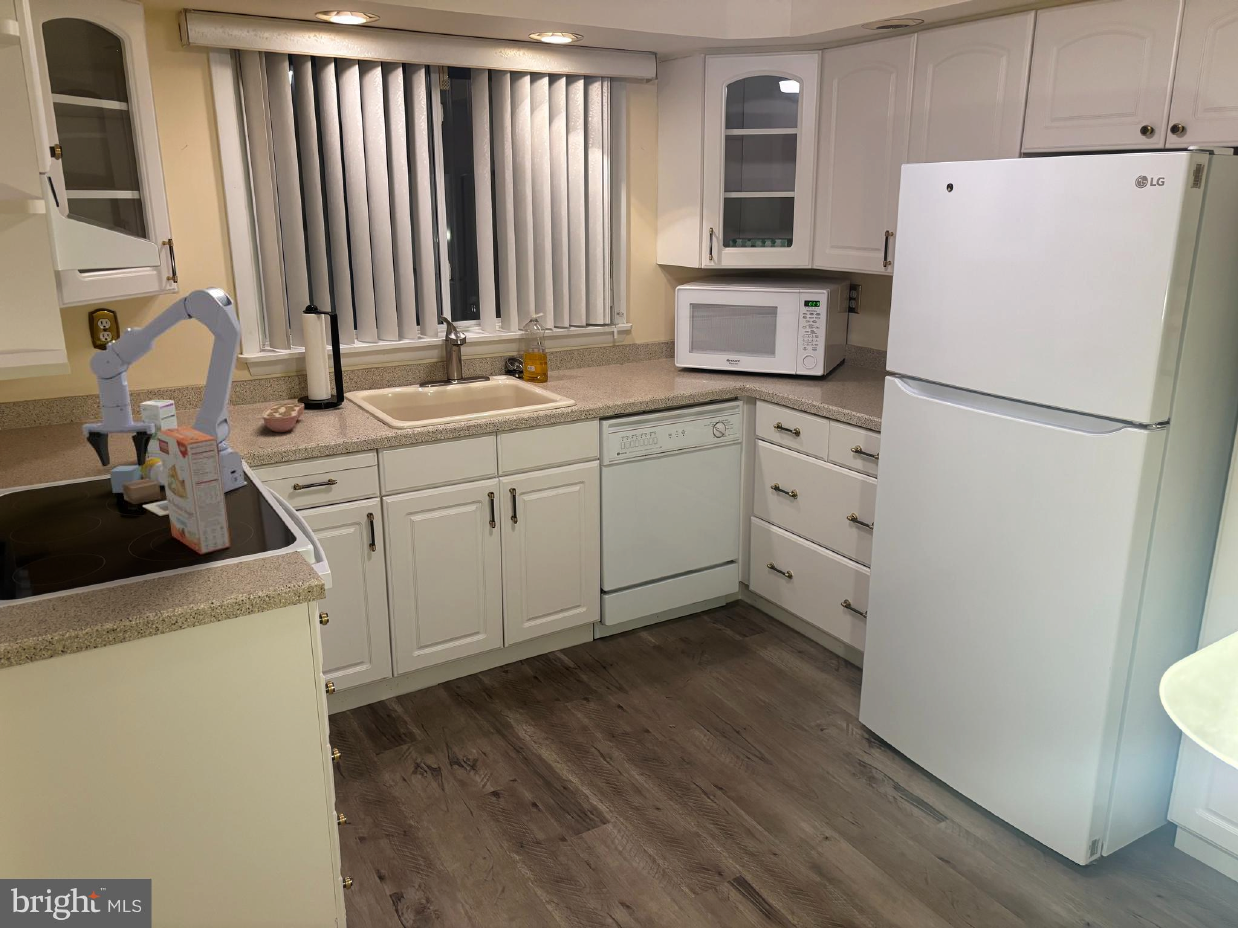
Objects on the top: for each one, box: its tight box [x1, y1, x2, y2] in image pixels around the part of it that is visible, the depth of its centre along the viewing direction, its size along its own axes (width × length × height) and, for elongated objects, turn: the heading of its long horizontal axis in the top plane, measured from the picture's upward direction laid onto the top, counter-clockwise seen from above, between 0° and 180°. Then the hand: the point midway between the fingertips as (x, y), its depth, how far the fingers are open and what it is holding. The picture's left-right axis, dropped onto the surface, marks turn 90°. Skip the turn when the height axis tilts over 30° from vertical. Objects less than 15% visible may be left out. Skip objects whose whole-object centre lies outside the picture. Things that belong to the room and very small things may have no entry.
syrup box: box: [139, 399, 178, 459], centre depth 233 cm, size 6×6×14 cm
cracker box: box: [157, 426, 232, 555], centre depth 171 cm, size 14×6×21 cm, turn 45°
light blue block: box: [109, 465, 143, 494], centre depth 207 cm, size 4×4×5 cm
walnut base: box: [122, 478, 162, 505], centre depth 200 cm, size 6×6×4 cm
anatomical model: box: [262, 401, 305, 433], centre depth 269 cm, size 23×10×5 cm, turn 10°
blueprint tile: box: [142, 499, 169, 517], centre depth 194 cm, size 9×6×1 cm, turn 47°
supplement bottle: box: [140, 457, 165, 487], centre depth 211 cm, size 5×5×10 cm
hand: (124, 465), depth 206 cm, fingers open, 7 cm apart
